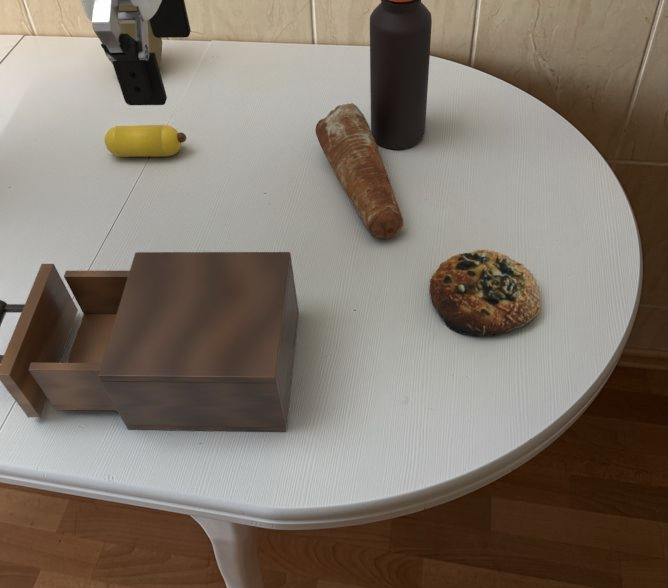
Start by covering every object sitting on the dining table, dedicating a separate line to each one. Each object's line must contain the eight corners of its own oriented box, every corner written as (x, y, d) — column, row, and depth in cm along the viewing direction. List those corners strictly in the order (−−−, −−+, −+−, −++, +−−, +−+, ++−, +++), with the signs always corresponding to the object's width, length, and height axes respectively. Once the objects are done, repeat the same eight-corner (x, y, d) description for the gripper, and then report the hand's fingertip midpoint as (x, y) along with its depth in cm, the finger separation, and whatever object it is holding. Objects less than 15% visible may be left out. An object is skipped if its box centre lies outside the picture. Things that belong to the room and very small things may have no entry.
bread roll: (418, 328, 69) (424, 290, 65) (437, 260, 76) (443, 222, 73) (532, 353, 67) (545, 314, 63) (540, 280, 74) (552, 242, 71)
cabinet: (127, 429, 64) (97, 375, 57) (158, 311, 72) (135, 251, 66) (286, 432, 63) (275, 377, 56) (298, 311, 71) (290, 251, 65)
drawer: (-25, 416, 65) (-62, 374, 59) (19, 309, 72) (-10, 263, 67) (172, 419, 63) (153, 376, 58) (196, 310, 71) (181, 263, 66)
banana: (106, 163, 88) (97, 138, 85) (113, 144, 90) (104, 119, 87) (187, 162, 87) (180, 137, 84) (192, 143, 89) (186, 118, 86)
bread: (364, 137, 88) (363, 97, 84) (410, 239, 77) (412, 200, 72) (315, 146, 87) (312, 107, 83) (354, 251, 76) (353, 212, 72)
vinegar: (421, 153, 86) (431, -14, 70) (366, 148, 87) (363, -16, 71) (427, 119, 90) (438, -45, 74) (375, 115, 91) (374, -47, 75)
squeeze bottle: (176, 56, 102) (143, -79, 88) (156, 88, 97) (117, -49, 83) (125, 52, 103) (84, -82, 89) (102, 83, 99) (55, -53, 84)
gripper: (73, -227, 49) (140, 14, 63) (-17, -130, 39) (86, 133, 52) (179, -232, 48) (222, 13, 62) (116, -135, 38) (185, 133, 52)
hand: (160, 67), depth 57 cm, fingers open, 9 cm apart
